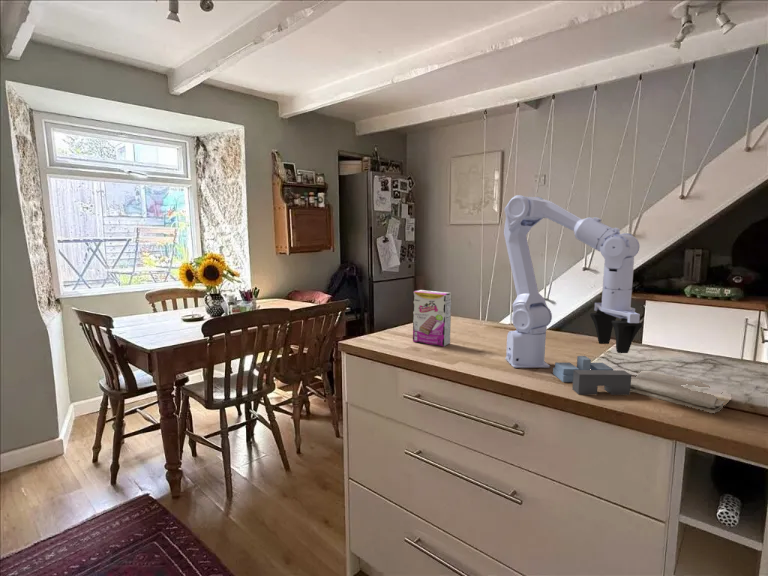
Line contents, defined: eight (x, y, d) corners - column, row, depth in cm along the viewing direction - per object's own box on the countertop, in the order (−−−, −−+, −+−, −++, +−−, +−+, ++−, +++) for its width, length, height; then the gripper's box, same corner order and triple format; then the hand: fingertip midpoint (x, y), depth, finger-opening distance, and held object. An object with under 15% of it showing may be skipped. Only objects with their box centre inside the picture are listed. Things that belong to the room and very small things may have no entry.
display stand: (562, 382, 98) (564, 361, 97) (552, 373, 104) (553, 353, 103) (614, 382, 98) (616, 361, 97) (601, 373, 104) (602, 354, 103)
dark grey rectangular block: (578, 394, 91) (579, 374, 90) (572, 389, 94) (573, 369, 93) (629, 395, 90) (631, 374, 90) (622, 389, 93) (623, 370, 93)
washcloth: (718, 418, 80) (720, 402, 80) (618, 391, 94) (619, 377, 93) (733, 402, 88) (735, 388, 87) (638, 379, 101) (640, 366, 101)
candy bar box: (412, 342, 134) (412, 291, 132) (419, 338, 138) (419, 289, 136) (444, 347, 128) (445, 294, 126) (450, 343, 132) (452, 292, 130)
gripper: (656, 293, 86) (650, 357, 88) (616, 284, 100) (612, 339, 102) (622, 293, 86) (617, 357, 88) (587, 284, 100) (583, 339, 102)
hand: (612, 348), depth 95 cm, fingers open, 7 cm apart
